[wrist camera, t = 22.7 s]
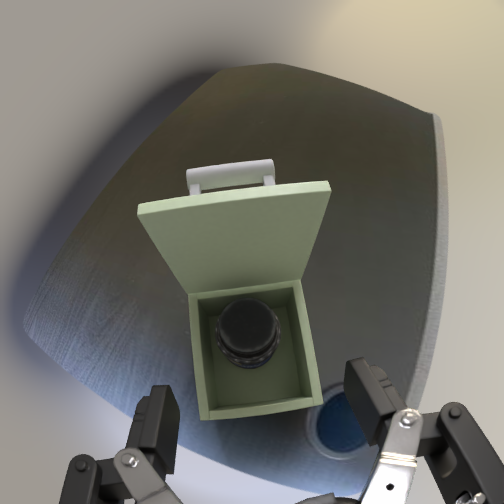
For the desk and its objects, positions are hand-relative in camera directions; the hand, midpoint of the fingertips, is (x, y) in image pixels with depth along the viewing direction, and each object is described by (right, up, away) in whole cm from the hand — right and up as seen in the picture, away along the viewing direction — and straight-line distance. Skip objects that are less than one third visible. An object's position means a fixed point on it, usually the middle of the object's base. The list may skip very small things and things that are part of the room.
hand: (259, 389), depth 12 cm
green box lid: (-1, +6, +10) cm, 12 cm away
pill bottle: (-1, -5, +21) cm, 21 cm away
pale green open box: (0, -6, +21) cm, 22 cm away
